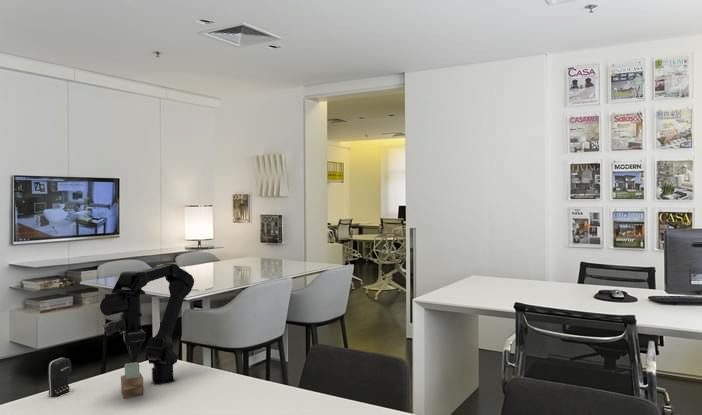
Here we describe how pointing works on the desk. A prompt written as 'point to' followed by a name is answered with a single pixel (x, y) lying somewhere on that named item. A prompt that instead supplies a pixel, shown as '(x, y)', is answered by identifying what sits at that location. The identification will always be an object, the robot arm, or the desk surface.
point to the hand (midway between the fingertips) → (132, 357)
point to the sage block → (132, 370)
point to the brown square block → (131, 382)
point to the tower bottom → (132, 392)
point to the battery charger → (58, 376)
